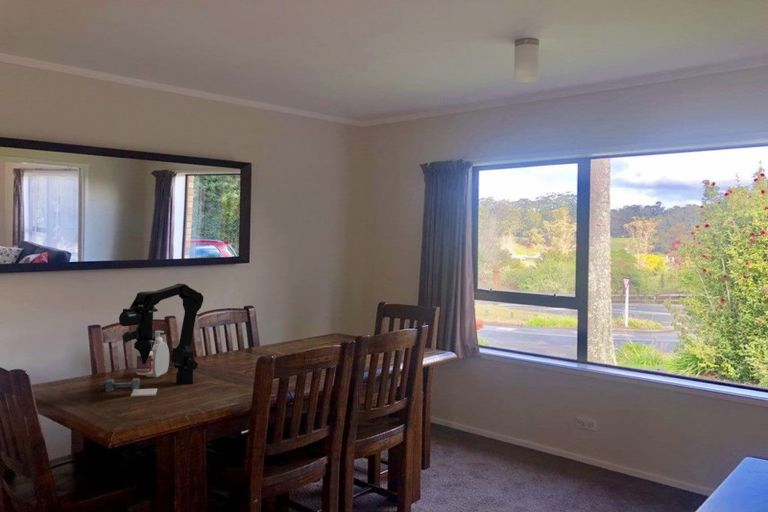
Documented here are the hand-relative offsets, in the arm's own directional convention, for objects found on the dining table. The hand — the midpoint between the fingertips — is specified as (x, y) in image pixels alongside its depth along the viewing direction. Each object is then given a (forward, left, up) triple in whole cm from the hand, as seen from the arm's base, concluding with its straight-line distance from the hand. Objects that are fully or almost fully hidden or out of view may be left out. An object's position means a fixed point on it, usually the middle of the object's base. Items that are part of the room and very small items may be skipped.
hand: (145, 362), depth 240 cm
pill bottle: (0, 0, -5) cm, 5 cm away
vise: (+11, -9, -13) cm, 19 cm away
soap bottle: (-2, -33, -13) cm, 36 cm away
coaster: (0, 0, -13) cm, 13 cm away
